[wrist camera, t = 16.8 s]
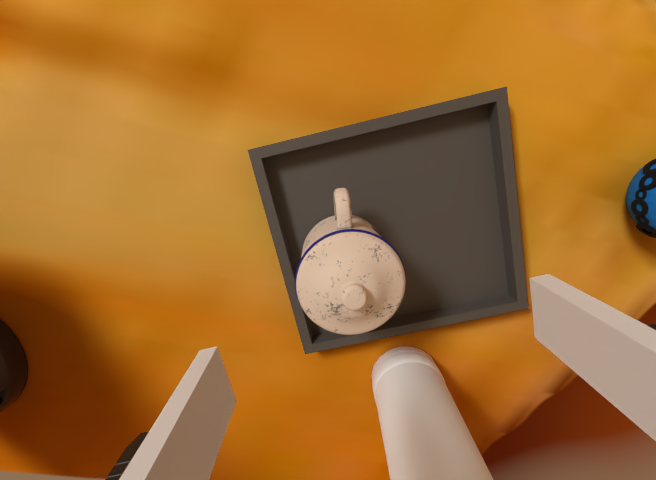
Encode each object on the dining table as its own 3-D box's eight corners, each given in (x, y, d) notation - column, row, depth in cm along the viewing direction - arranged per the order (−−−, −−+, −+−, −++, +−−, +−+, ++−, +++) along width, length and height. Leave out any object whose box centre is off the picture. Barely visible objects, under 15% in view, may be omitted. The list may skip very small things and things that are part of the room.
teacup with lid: (387, 289, 37) (418, 349, 26) (304, 297, 37) (299, 360, 26) (382, 178, 34) (414, 191, 23) (292, 187, 34) (279, 203, 23)
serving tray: (306, 341, 39) (305, 354, 37) (253, 150, 34) (247, 150, 32) (515, 298, 38) (528, 308, 35) (493, 91, 33) (506, 86, 30)
